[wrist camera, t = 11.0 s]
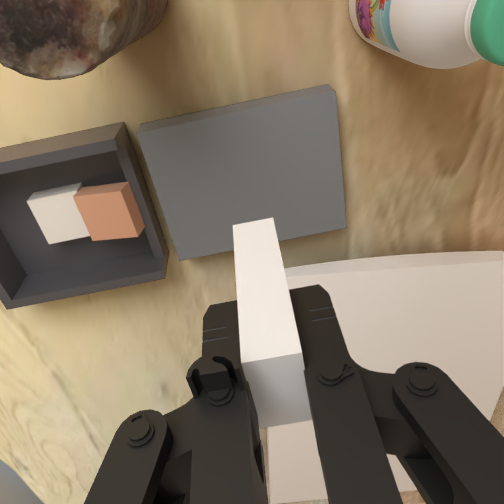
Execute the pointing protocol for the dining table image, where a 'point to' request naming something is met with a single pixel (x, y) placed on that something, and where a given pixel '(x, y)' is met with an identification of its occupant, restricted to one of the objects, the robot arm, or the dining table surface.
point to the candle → (70, 33)
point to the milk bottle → (433, 30)
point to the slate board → (248, 169)
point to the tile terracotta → (109, 211)
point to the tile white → (58, 213)
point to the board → (401, 340)
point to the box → (81, 249)
